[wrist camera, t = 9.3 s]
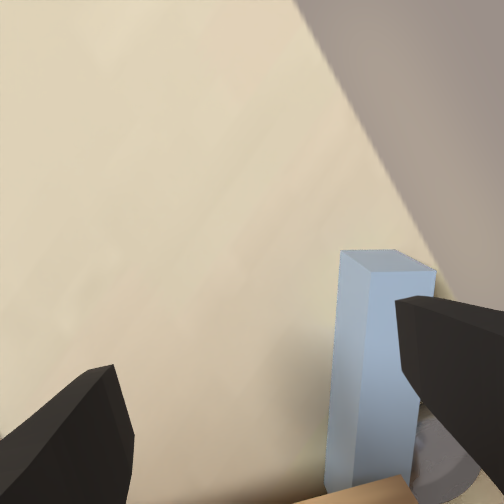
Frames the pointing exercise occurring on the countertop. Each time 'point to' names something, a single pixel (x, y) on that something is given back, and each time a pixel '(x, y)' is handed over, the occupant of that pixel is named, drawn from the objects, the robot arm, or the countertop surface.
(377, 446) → the push bar
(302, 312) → the countertop surface
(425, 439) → the grey round puck
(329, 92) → the countertop surface
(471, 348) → the robot arm
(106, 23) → the countertop surface
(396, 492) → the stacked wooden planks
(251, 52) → the countertop surface
